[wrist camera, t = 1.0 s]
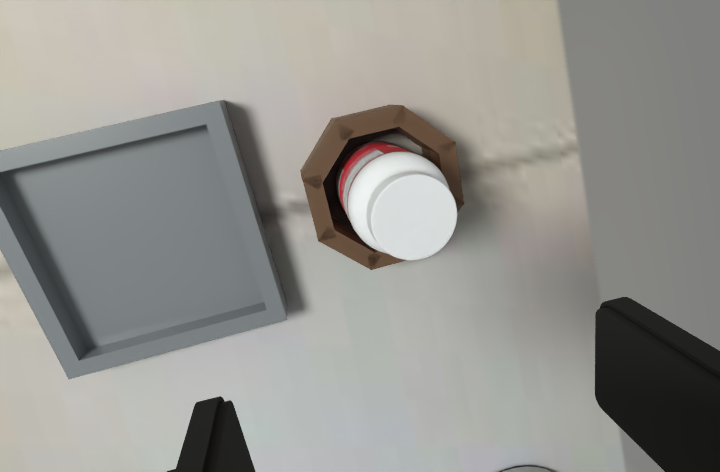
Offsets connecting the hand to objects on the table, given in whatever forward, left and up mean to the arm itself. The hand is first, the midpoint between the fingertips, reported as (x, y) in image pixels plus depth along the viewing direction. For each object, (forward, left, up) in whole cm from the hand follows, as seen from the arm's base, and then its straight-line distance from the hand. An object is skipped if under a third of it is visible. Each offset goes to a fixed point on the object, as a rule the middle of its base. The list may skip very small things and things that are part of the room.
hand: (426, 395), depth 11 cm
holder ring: (0, -3, -24) cm, 24 cm away
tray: (0, +14, -24) cm, 27 cm away
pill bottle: (0, -3, -24) cm, 24 cm away
